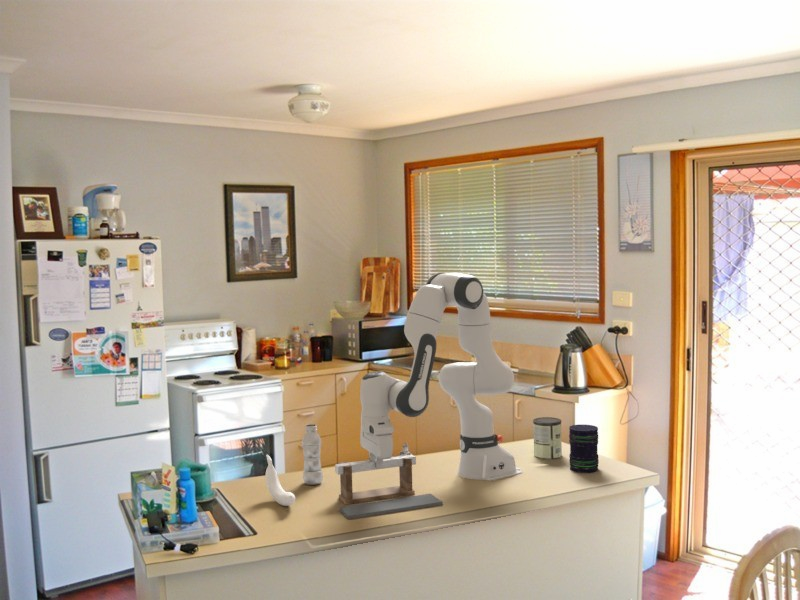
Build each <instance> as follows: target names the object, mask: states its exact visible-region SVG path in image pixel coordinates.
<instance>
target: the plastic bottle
mask: <svg viewBox="0 0 800 600" xmlns="http://www.w3.org/2000/svg"><path fill="white" fill-rule="evenodd" d="M304 431H305V434H304V435H303V436H302V439H301V447H302V451H303V472H302V481H303V483H304V484H305V485H308V486H316V485H320V484H322V482H323V479H324V477H323V476H324V475H323V470H322V464H321V448H322V439H321V436H320V435H319V434H318V432H317V431H318V427H317V424H313V423H310V424H306V425H305V430H304Z"/></svg>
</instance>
